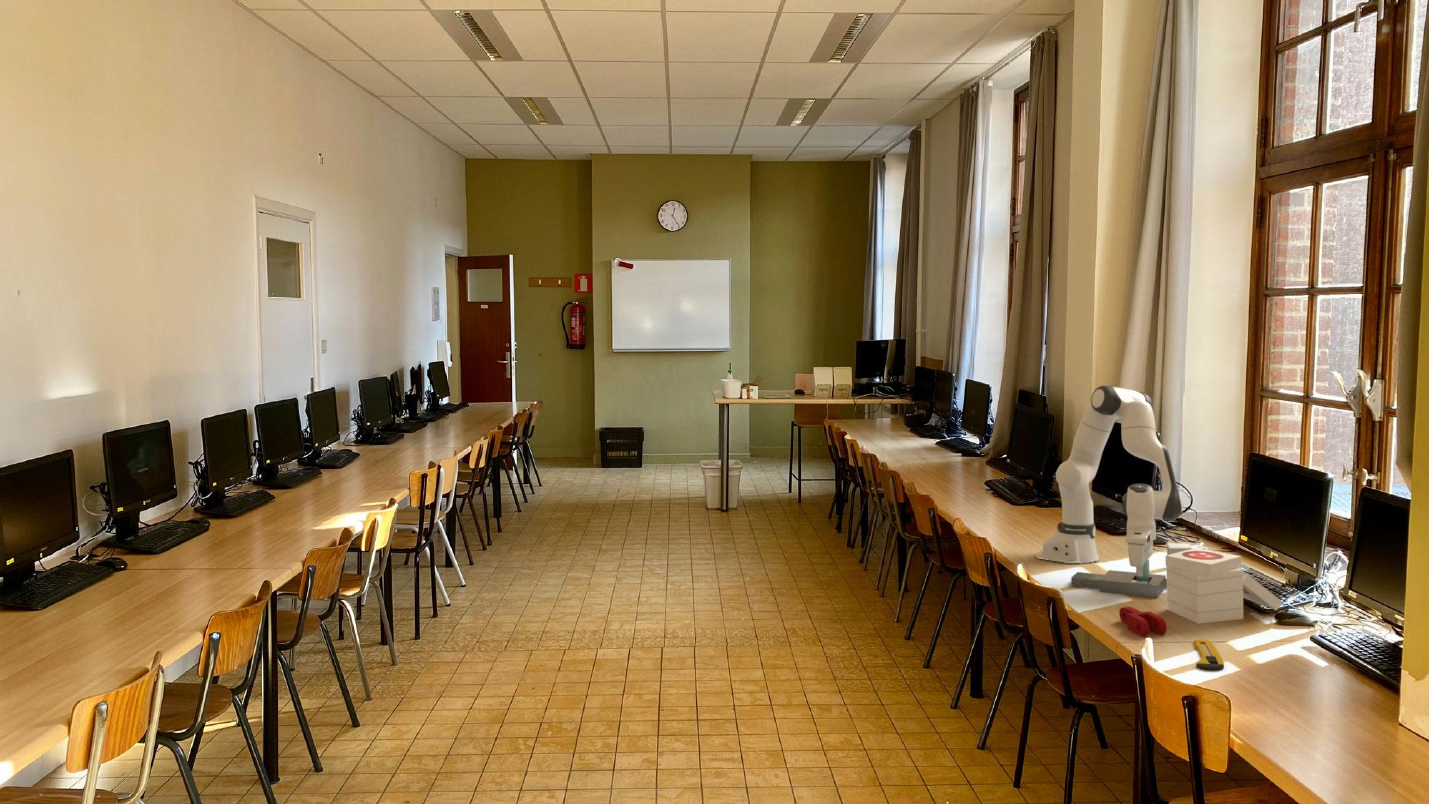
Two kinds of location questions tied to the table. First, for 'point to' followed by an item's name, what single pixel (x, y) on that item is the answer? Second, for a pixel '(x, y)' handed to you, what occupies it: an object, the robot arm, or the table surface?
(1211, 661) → the utility knife
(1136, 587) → the plate
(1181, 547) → the supplement box
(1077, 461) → the robot arm
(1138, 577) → the peg
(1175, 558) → the white stacked boxes
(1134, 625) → the mechanical linkage
